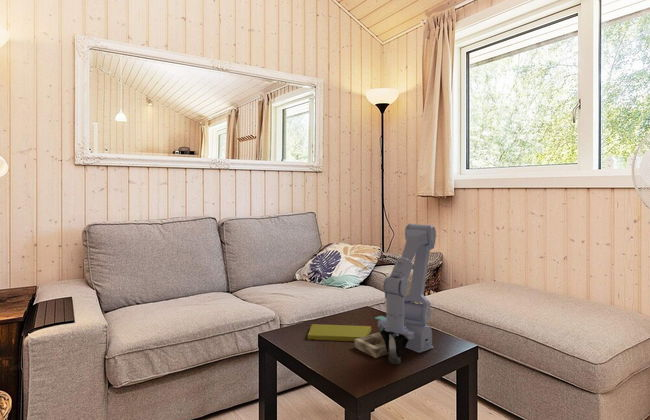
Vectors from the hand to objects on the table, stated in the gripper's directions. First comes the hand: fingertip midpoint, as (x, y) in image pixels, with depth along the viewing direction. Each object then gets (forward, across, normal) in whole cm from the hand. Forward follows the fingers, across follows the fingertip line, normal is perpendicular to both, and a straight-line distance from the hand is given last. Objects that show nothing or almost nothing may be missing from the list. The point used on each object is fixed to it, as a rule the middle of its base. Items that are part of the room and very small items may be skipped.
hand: (394, 354), depth 131 cm
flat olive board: (+3, -29, 0) cm, 30 cm away
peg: (+2, 0, 0) cm, 2 cm away
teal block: (-1, -11, +8) cm, 13 cm away
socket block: (+2, -11, +3) cm, 12 cm away
